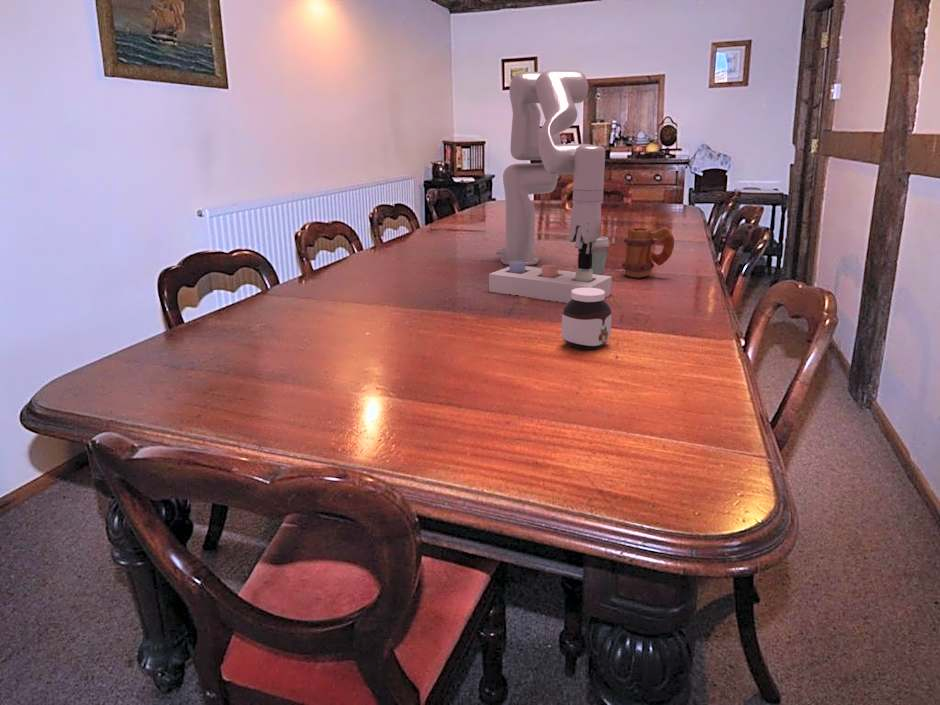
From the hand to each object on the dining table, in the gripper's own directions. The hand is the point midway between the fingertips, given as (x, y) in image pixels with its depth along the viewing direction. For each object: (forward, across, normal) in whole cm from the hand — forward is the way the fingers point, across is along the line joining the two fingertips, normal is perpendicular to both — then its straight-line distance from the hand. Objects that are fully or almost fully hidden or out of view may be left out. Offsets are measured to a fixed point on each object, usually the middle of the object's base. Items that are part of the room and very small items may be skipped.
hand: (584, 268), depth 172 cm
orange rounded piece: (+5, 0, -10) cm, 12 cm away
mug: (+8, -32, +6) cm, 34 cm away
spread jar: (+9, +34, +15) cm, 38 cm away
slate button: (+5, 0, -20) cm, 21 cm away
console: (+8, 0, -10) cm, 13 cm away
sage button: (+6, 0, 0) cm, 6 cm away
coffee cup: (+8, -23, -7) cm, 26 cm away
